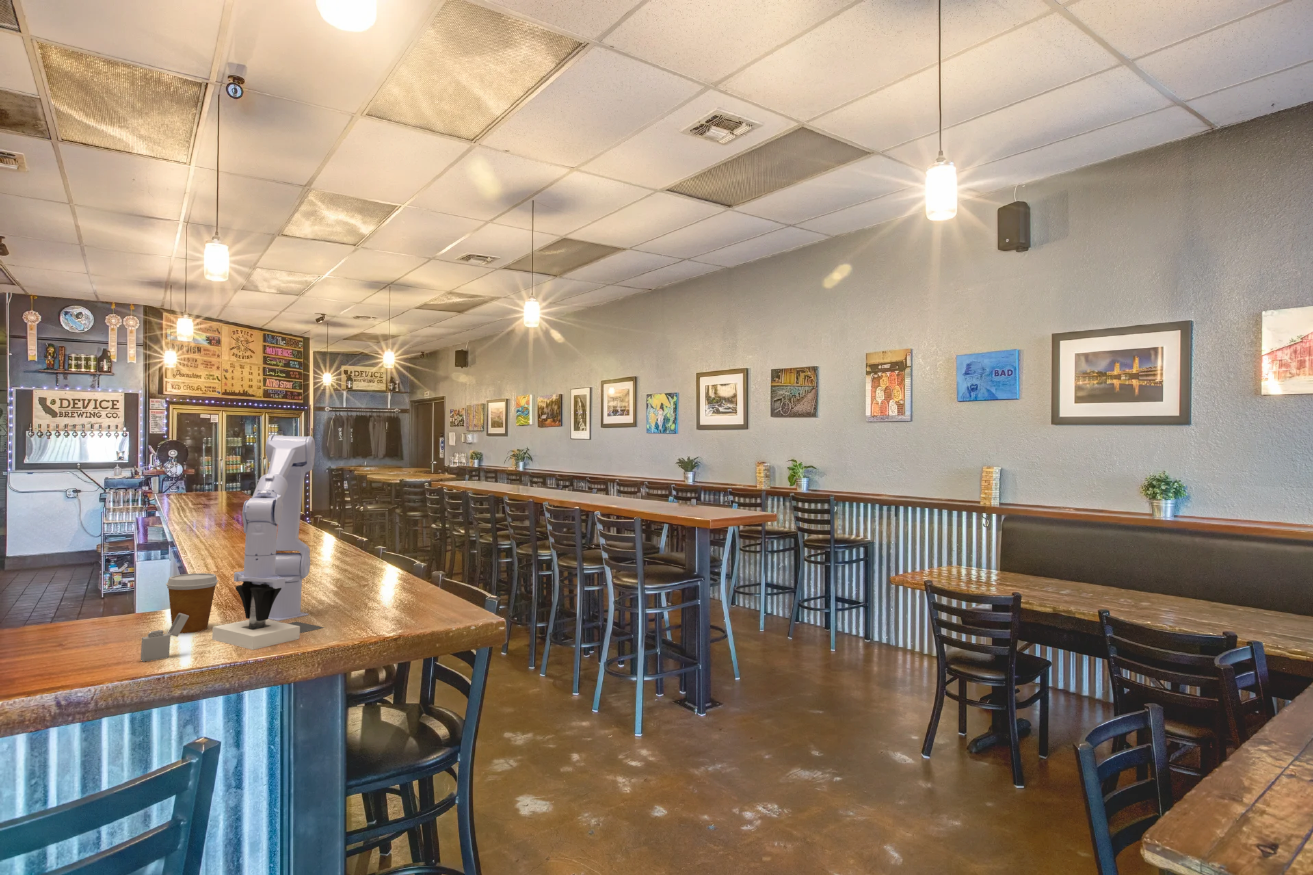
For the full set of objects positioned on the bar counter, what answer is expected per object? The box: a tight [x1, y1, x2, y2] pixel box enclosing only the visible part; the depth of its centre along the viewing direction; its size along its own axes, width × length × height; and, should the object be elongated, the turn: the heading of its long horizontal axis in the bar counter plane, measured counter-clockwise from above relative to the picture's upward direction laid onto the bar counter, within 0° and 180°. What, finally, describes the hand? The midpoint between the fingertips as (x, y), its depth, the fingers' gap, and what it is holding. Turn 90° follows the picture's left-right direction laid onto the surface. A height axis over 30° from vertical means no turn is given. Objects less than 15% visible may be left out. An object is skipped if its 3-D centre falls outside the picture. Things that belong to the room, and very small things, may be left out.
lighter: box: [140, 613, 189, 663], centre depth 129 cm, size 7×2×8 cm, turn 144°
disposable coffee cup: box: [165, 572, 219, 634], centre depth 148 cm, size 10×10×12 cm
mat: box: [287, 621, 326, 634], centre depth 152 cm, size 10×8×1 cm
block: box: [211, 619, 301, 651], centre depth 142 cm, size 14×10×3 cm
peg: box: [248, 592, 266, 630], centre depth 142 cm, size 3×3×9 cm
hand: (257, 619), depth 142 cm, fingers closed on peg, 3 cm apart
